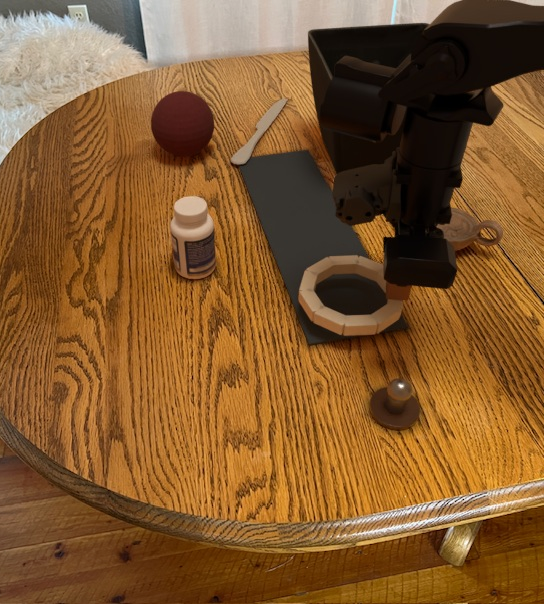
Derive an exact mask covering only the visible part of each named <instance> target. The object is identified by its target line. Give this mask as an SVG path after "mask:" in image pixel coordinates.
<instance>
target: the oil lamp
mask: <svg viewBox="0 0 544 604" xmlns="http://www.w3.org/2000/svg"><path fill="white" fill-rule="evenodd" d="M451 212H452V217H451V221H450V224H443V223H439V224H438V225H437V228H440V229H442V230H443V232H444V238H446V239H447V240H448V241H449V242H450V243H451V244H452V245H453V246H454V250H455V252H457V251H459V250H462V249H464V248H466V247H468V246H470V245H471V244H472V243H473V242H475V243H477V244H478V245H480V246H482V247H493V246H496V245H498V244H499V243H500V242H501V240H502V238H503V236H504V230H503V227H502V226H501V224H500V223H499V222H497V221H496V220H493V219H485V220H482V221H481V222H480V223H479V221H478V219H477V218H476V217H475V216H473V214H471V213H469V212H467V211H466V210H463V209H461V208H458V207H453V206H451ZM483 229H490V230H491V231H493V232H495V238H486V237H484V236H483V235H482V232H481V231H482V230H483Z"/></svg>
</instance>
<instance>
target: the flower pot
mask: <svg viewBox="0 0 544 604" xmlns="http://www.w3.org/2000/svg"><path fill="white" fill-rule="evenodd" d="M430 24H431V23H427V22H412V23H410V22H409V23H391V24H376V25H360V26H359V25H358V26H342V27H329V28H315V29H314V28H313V29H309V30H308V31H307V43H308V44H307V46H308V60H309V61H308V62H309V63H308V64H309V71H310V72H309V73H310V81H311V83H310V84H311V89H312V95H313V103H314V108H315V113H316V118H317V124H318V128H319V132H320V136H321V140H322V142H323V144H324V147H325V149H326V152H327V154H328V157H329V160H330V163H331V164H332V167H333V170H334V173H335V175H337V174H338V173H340V172H342V171H346V170H351V169H355V168H359V167H364V166H368V165H372V164H378V165H380V164H384V162H385V160H386V159H388V158H389V157H391V156H392V153H393V151H396V148H397V147H400V143H401V138H402V133H403V128H404V123H405V118H406V113H407V108H408V107H406V111H405V114H404V118H403V120H402V123H401V125H400V127H399V129H398V131H397V132H396V134H395V135H390V134H387V135H386V136H385V138H384V139H383V141H381V142H380V143H376V142H372V141H369V140H365V139H361V138H357V137H354V136H350V135H346V134H342V133H339V132H335V131H331V130H327V129H324V128H323V127H322V126H321V123H320V108H321V104H322V102H324V98H325V95H326V91H327V89H328V86H329V84H330V81H331V80H332V78H333V76H334V69H335V64H336V63H337V62H338V61H340V60H341V59H342V58H343V57H344V56H350V57H355V58H358V59H360V60H362V61H364V62H368V63H373V64H377V65H382V66H387V67H391V68H397V67H398V66H399V65H400V64H401V63H402V62H403V61H404V60H405V59H406V58H407V57H408V56H409V55H410V54H411V51H412V49H413V46H414V43H415V41H416V39H417V38H418V37H419V36H420V34H421V33H422V32H423V31H424V30H425V29H426V28H427V27H428V26H429V25H430Z"/></svg>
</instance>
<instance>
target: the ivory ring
mask: <svg viewBox="0 0 544 604" xmlns="http://www.w3.org/2000/svg"><path fill="white" fill-rule="evenodd" d="M370 259H371V258H370ZM370 259H367V258H365V257H362V256H359V258H358V255H352V256H329V258H328V257H326V258H324V259H323V260H321V261H319V262H317V263H316V264H314V265H312V266H310V267H309V268H307V269H306V270H305V272H304V275H303V279H302V282H301V285H300V289H299V298H298V299H299V302H300V304H301V306H302V307H303V309H304V310H305V312H306V313H307V315H308V317H309V318H310V320H311V321H314V323H315V324H317V325H320V326H322V327H324V328H326V329H329V330H331V331H333V332H335V333H337V334H340V335H342V333H343V335H344V336H349V335H367V336H372V335H379V334H380V333H379V332H381V331H382V330H384V329H385V328H387V327H388V326H390V325H391V324H393V323H394V322H396V321H397V320H398V319H399V318H400V315H401V314H402V312H403V307H404V306H403V305H404V302H409V299H410V295H411V291H412V287H413V286H409V285H408V286H407V287H400V286H397V285H396V284H390V283H388V282H387V281H386V280H384V273H383V263H380V262H377V261H375V260H372V259H371V260H370ZM353 273H356V274H358V275H361V276H363V277H366V278H368V279H371V280H373V281H376V282H377V283H378V284H379V286H380V287H381V288H382V289H383V291H384V292H385V293H386V299H388V301H387V305H385V306H383V307H382V308H380V309H379V310H377V311H376V312H374V313H373V314H371V315H350V316H346V315H343V314H341V313H339V312H337V311H334V310H332V309H330V308H327V307H325V306H324V305H323V304H322V302H321V301H320V299H319V298H318V296H317V295H316V293H315V288H316V285H317V284H318V283H319V282H321V281H323V280H324V279H326V278H328V277H329V276H331V275H333V274H353ZM375 333H377V334H375ZM378 333H379V334H378Z"/></svg>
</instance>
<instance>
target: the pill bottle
mask: <svg viewBox="0 0 544 604" xmlns="http://www.w3.org/2000/svg"><path fill="white" fill-rule="evenodd" d="M173 212H174V216H173V218H172V219H171V221H170V225H169V228H170V238H171V246H172V247H171V248H172V254H173V264H174V268H175V271H176V272H177V274H178V275H179V276H181V277H183V278H186V279H189V280H199V279H200V280H201V279H203V278H207V277H208V276H210V275H211V274H212V273H213V272H214V271H215V269H216V266H217V257H216V237H215V223H214V220H213V218H212V216H211V214H209V213H208V203H207V201H206V200H205V199H204V198H202V197H200V196H195V195H189V196H184V197H181V198H179V199H178V200H176V202H175V203H174V205H173Z"/></svg>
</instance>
